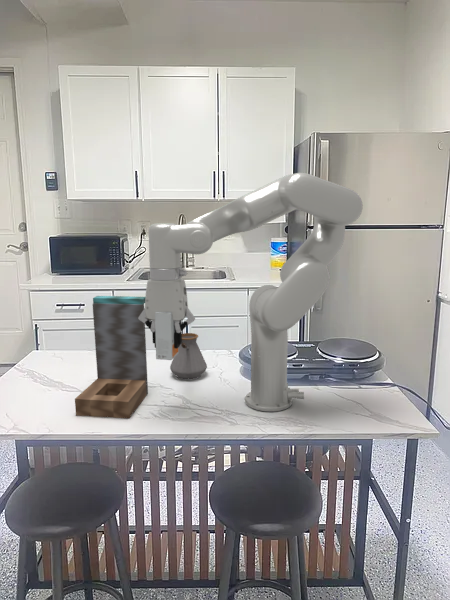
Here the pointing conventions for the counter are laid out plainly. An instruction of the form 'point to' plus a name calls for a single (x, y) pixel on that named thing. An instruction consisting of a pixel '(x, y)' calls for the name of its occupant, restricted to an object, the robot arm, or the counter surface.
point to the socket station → (116, 359)
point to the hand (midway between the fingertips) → (167, 345)
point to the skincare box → (165, 336)
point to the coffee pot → (188, 359)
